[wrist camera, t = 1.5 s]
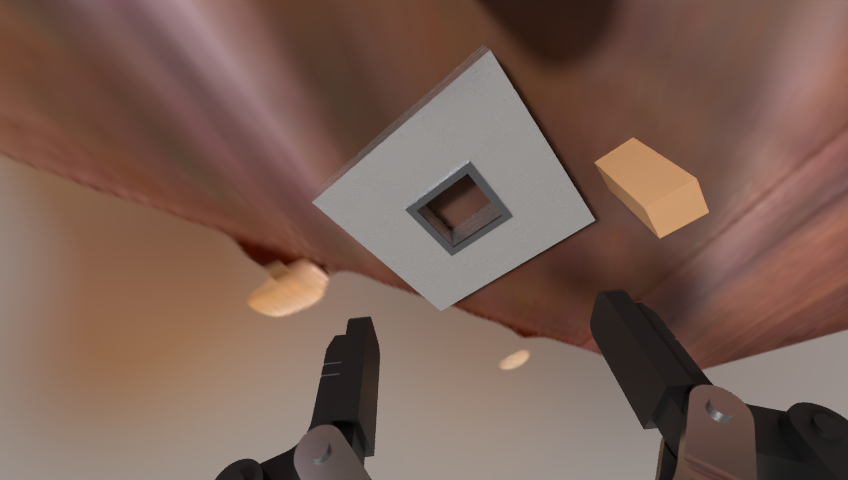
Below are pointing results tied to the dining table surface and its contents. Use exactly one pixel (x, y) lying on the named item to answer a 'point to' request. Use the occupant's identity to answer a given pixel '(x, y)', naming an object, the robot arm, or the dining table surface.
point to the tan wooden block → (652, 187)
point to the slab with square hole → (440, 168)
